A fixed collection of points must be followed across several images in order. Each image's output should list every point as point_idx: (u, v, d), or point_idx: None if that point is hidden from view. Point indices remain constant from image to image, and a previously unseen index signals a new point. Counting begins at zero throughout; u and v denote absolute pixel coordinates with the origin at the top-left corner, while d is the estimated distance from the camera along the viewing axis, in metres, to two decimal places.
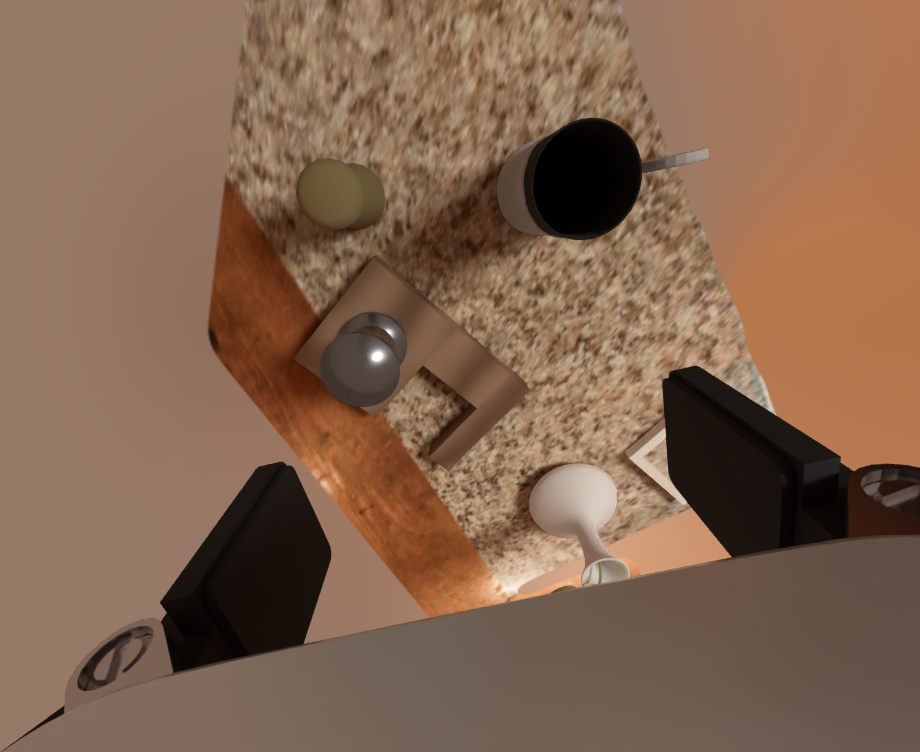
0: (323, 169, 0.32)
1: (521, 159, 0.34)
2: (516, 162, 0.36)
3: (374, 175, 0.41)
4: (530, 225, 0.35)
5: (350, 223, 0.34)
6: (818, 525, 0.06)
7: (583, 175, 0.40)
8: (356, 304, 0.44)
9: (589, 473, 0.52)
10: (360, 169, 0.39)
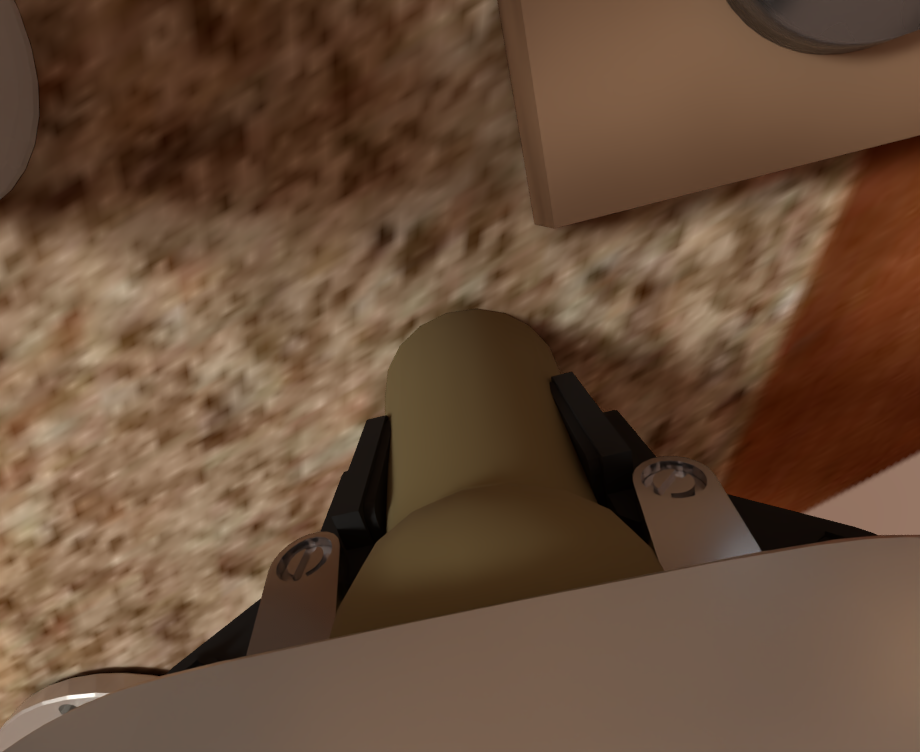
0: None
1: None
2: None
3: None
4: None
5: (533, 561, 0.05)
6: (615, 507, 0.07)
7: None
8: (757, 99, 0.09)
9: None
10: None
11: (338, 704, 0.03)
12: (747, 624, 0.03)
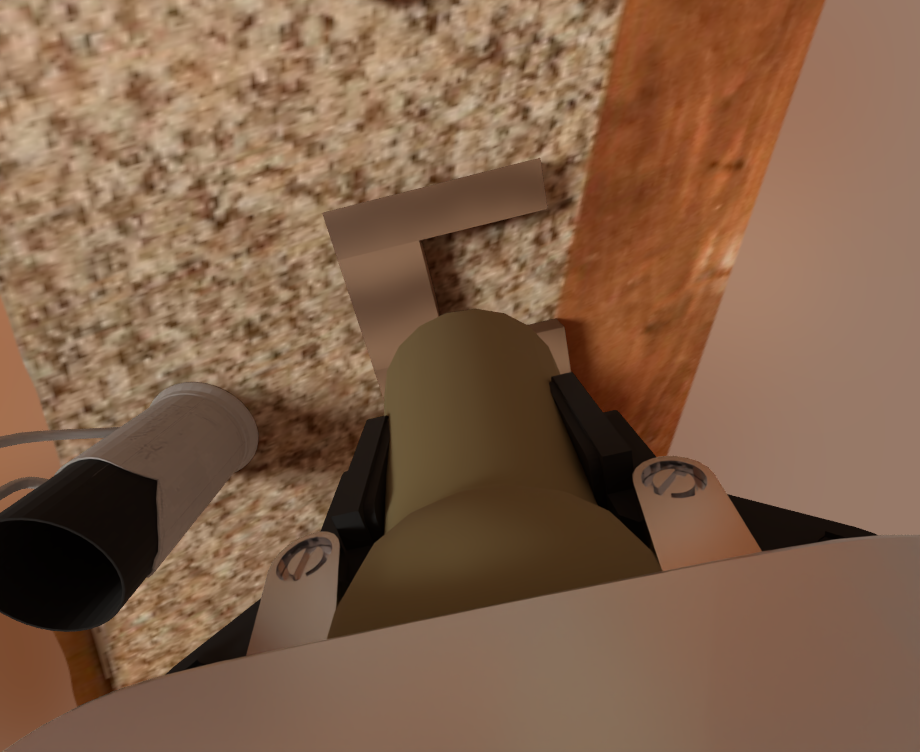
0: None
1: None
2: None
3: None
4: (185, 486, 0.26)
5: (531, 563, 0.05)
6: (615, 507, 0.07)
7: None
8: None
9: None
10: None
11: (338, 704, 0.03)
12: (747, 624, 0.03)
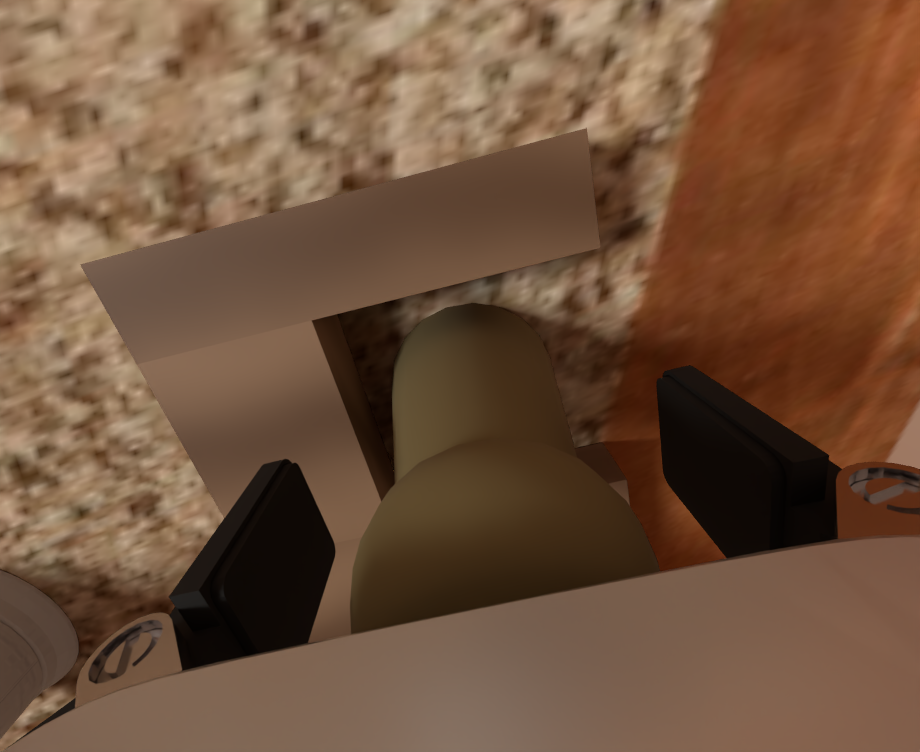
0: None
1: None
2: None
3: None
4: None
5: (512, 486, 0.06)
6: (806, 522, 0.06)
7: None
8: None
9: None
10: None
11: (338, 704, 0.03)
12: (747, 624, 0.03)
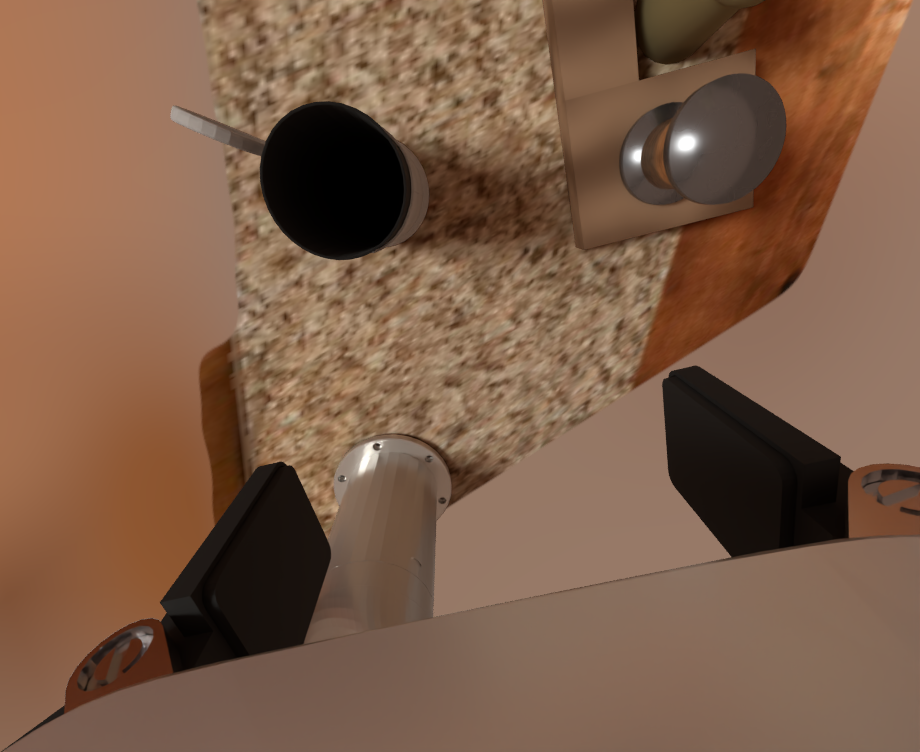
0: None
1: None
2: None
3: (637, 19, 0.32)
4: (414, 171, 0.27)
5: None
6: (818, 525, 0.06)
7: (326, 177, 0.33)
8: (639, 215, 0.35)
9: None
10: (657, 20, 0.30)
11: (338, 704, 0.03)
12: (747, 624, 0.03)
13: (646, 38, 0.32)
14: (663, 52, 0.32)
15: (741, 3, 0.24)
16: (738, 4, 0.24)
